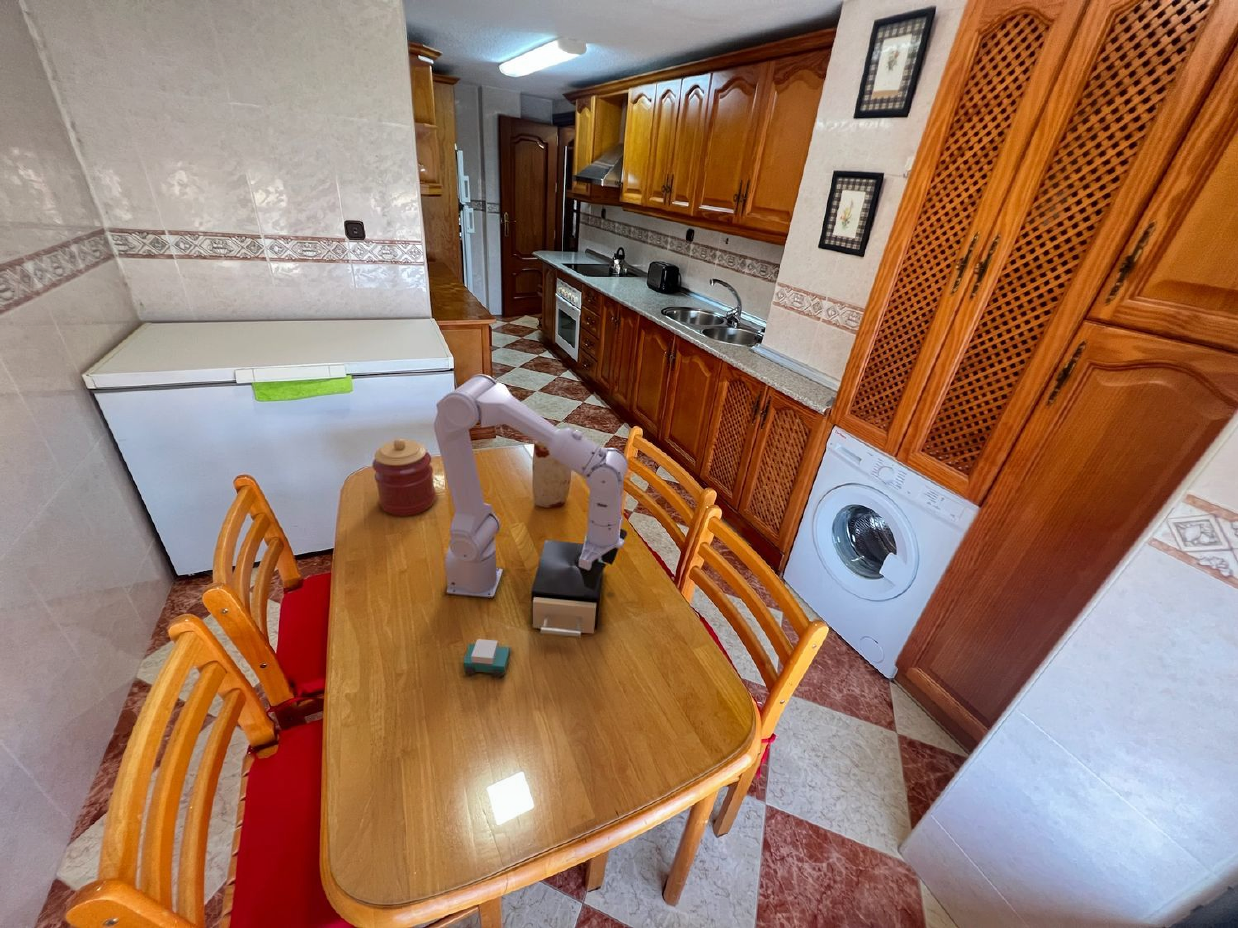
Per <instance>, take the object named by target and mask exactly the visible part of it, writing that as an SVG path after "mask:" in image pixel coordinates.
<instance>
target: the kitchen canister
mask: <svg viewBox="0 0 1238 928" xmlns="http://www.w3.org/2000/svg"><path fill="white" fill-rule="evenodd" d="M431 462H432V456H431V454H430V453H429V452H427V447H426V446H425V445H423V444H422V443H420V442H418V441H414V440H411V439H403V438H396V439H395V440H392V441H389V442H387V443H385V444H384V445H382V446H380V447H379V448H378V449H377V450H375V452H374V459H373V460H372V464H371V465H372V469H373V470H374V471H375V474H374V480H375V482H376V487H377V492H378V502H379V505H380V506H381V508H382V510H383V511H384V512H385V513H387V514H389V515H392V516H398V517H399V516H400V517H402V516H403V517H406V516H413V515H417V514H420V513H422V512H423V513H424V511H426V510H428V509H429V508H431V507H432V506H433V504H434V503H435V501H436V494H437V493H436V492H437V491H436V488H435V484H434V483H435V482H434V475H433V473H434V469H433V467H432V465H431Z"/></svg>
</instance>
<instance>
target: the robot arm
mask: <svg viewBox="0 0 1238 928" xmlns="http://www.w3.org/2000/svg"><path fill="white" fill-rule="evenodd" d="M435 406H436V410H437V411H436V416H435V419H434V422H433V430H434V434H435V439H436V442H437V447H438V450H439V453H440V457H441V461H442V466H443V469H444V473H445V478H446V482H447V487H448V489H449V493H450V497H451V500H452V505H453V509H454V515H453V518H452V521H451V524H450V527H449V534H450V539H449V542H448V545H449V546H448V549H447V552H446V555H445V561H444V567H445V577H446V585H447V589H446V594H449V595H460V596H471V597H481V598H494V597H495V594H496V592H497V589H498V586H499V583H500V581H501V578H502V576H503V571H504V569H503V568H497V554H496V551H497V550H496V542H495V541H496V535H497V534H498V533H499V532H500V530H501V522H500V519H499V518H498V517H497V515H496V514H495V511H494V508H493V505H492V504H489V503H486V502H485V499H484V495H483V490H482V486H481V481H480V477H479V472H478V466H477V463H476V458H475V453H474V447H473V444H472V439H471V435H470V429H472V428H474V427H476V425H477V423H478V422H479V421H481V423H480V427H481V428H490V427H494V426H499V425H506V426H508V427H510V428H512V429H513V430H515V431H517V432H519V433H521V434H522V435H525V436H527V437H529V438H530V439H532V440H534V441H535V440H536V441H538V442H540V443H542V444H544V445H545V446H547V447H548V449H549V453H550V456H551V457H552V458H553V459H555V460H557V461H558V462H560V463H561V464H563V465H565V466H566V467H568V468H569V469H571V470H572V472H574V473H576V474H578V475H579V476H580V477H582V478H584V479H585V483H586V485H587V487H588V489H589V491H590V492H589V495H588V496H589V497H588V508H587V509H588V510H587V511H588V512H587V524H586V525H587V526H586V532H585V537H584V541H583V544H584V546H583V551H582V553H580V552H578V554H577V555H576V556H575V557H574V564H575V565H576V566H577V568H578V569H579V571H580V573H581V575H582V578H583V582H584V585H585V587H587V588H590V589H592V590H595V588H596V587H597V585H598V581H599V577H600V574H601V572H602V571H603V569H604V570H605V569H606V566H607V565H613V563H614V562H615V560H616V557H617V555H618V552H619V549H622V548H623V546H624V544H625V539H626V538H627V536H628V531H627V530H625V529H624V528H621V527H622V526H623V524H624V523H623V522H624V515H623V516H622V510H623V509H622V508H623V499H624V495H623V494H624V481H625V478H626V476H627V473H628V470H629V460H628V458H627V457H626V455H625V454H624V453H623V452H621V451H620V449H618V448H615V447H604V446H602V445H601V446H600V445H598V444H597V443H595V442H593V441H592V440H590V439H588V438H587V437H585V436H584V435H583V432H582V431H580V430H579V429H575V430H574V429H572V427H565V428H558V427H556V426H555V425H553V423H552V422H549V421H548V420H547V419H545V418H544V417H543V416H541V415H540V414H538V413H537V412H535V411H534V410H532V409H531V408H530V407H529V406H527V405H526V404H524V403H523V402H522V401H520V400H519V399H518V398H516V397H515V396H514V395H512V393H511V392H510V391H509V389H508V387H507V386H506V385H505V384H503V383H501V382H499V381H497V380H496V379H495V378H493V377H491V376H490V375H487V374H485V373H484V374H483V373H478V374H475V375H473V376H472V377H470V378H469V379H468V380H467V381H466V382H464V383H463V384H462V385H460V386H459V387H457V388H456V389H454V390H453V391H450V392H449V393H447V394H446V395H444V396H443V397H442V398H441V399H440V400H438V402H437V403H436V404H435ZM600 556H601V558H602V561H603V562H604V563H602V562H599V561H598V559H597V558H598V557H600ZM603 572H604V571H603Z"/></svg>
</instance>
